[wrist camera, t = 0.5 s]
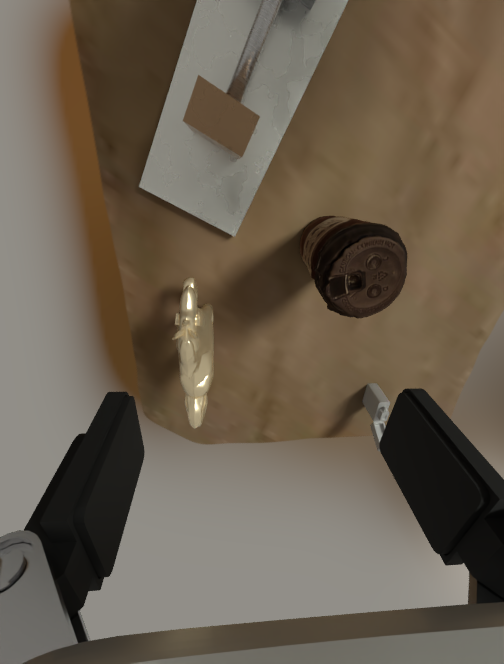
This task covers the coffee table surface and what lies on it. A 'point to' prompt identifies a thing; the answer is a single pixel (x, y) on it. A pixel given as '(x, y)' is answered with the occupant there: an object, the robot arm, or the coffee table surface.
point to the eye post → (260, 97)
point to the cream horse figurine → (194, 351)
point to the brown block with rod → (231, 93)
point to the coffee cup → (354, 264)
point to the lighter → (376, 410)
